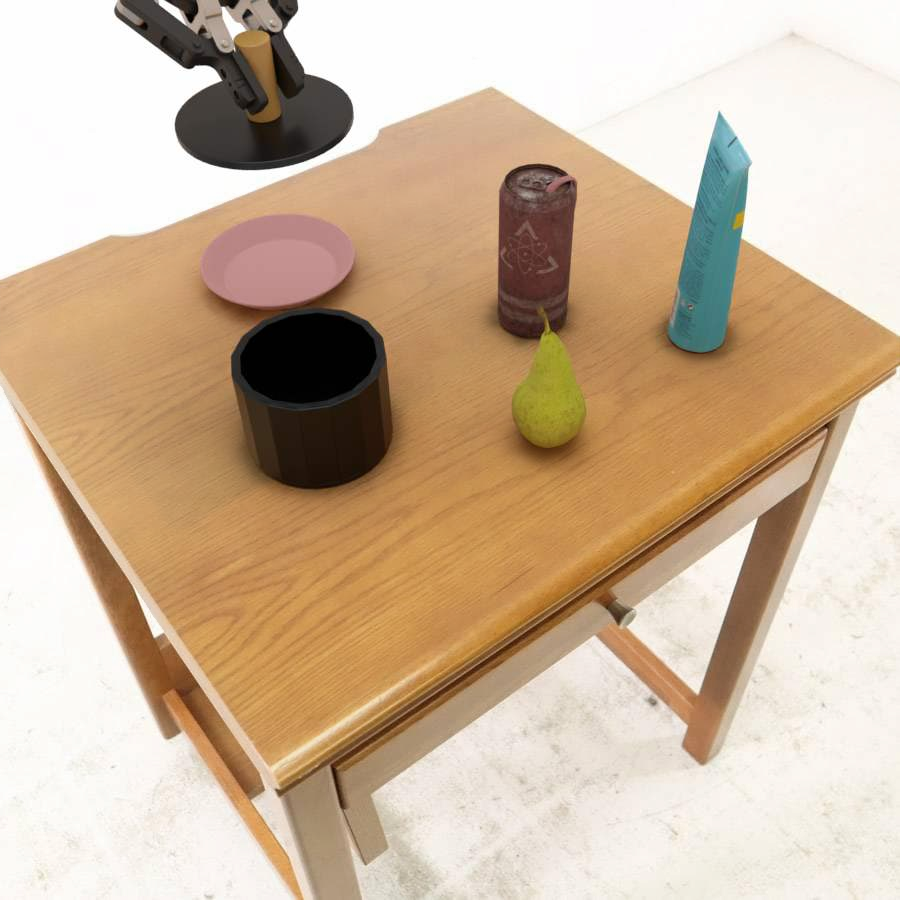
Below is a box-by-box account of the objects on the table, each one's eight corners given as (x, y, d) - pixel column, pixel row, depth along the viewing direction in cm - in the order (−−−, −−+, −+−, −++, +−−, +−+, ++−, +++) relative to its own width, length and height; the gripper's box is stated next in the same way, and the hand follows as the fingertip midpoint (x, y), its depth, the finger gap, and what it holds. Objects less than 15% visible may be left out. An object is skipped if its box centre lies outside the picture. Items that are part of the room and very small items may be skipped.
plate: (177, 267, 101) (172, 249, 99) (306, 213, 107) (303, 196, 105) (251, 344, 93) (247, 327, 91) (386, 281, 99) (384, 264, 97)
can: (580, 328, 93) (592, 190, 83) (514, 347, 92) (518, 208, 82) (551, 289, 97) (559, 152, 87) (487, 306, 96) (487, 169, 86)
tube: (738, 357, 90) (784, 156, 76) (684, 367, 90) (721, 166, 76) (704, 304, 95) (742, 106, 81) (653, 313, 95) (682, 115, 81)
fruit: (567, 474, 81) (577, 356, 73) (498, 450, 83) (500, 333, 75) (594, 426, 85) (607, 308, 76) (528, 404, 87) (533, 287, 78)
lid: (271, 199, 69) (255, 104, 64) (140, 142, 74) (116, 50, 69) (390, 117, 76) (383, 25, 71) (262, 70, 81) (248, -19, 76)
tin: (329, 511, 79) (316, 432, 73) (219, 449, 84) (198, 369, 78) (420, 422, 86) (415, 342, 80) (313, 369, 90) (301, 289, 84)
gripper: (49, -147, 62) (209, 118, 65) (241, -203, 69) (380, 40, 72) (32, -76, 69) (178, 161, 72) (209, -134, 75) (337, 87, 78)
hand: (278, 99), depth 72 cm, fingers closed on lid, 2 cm apart
